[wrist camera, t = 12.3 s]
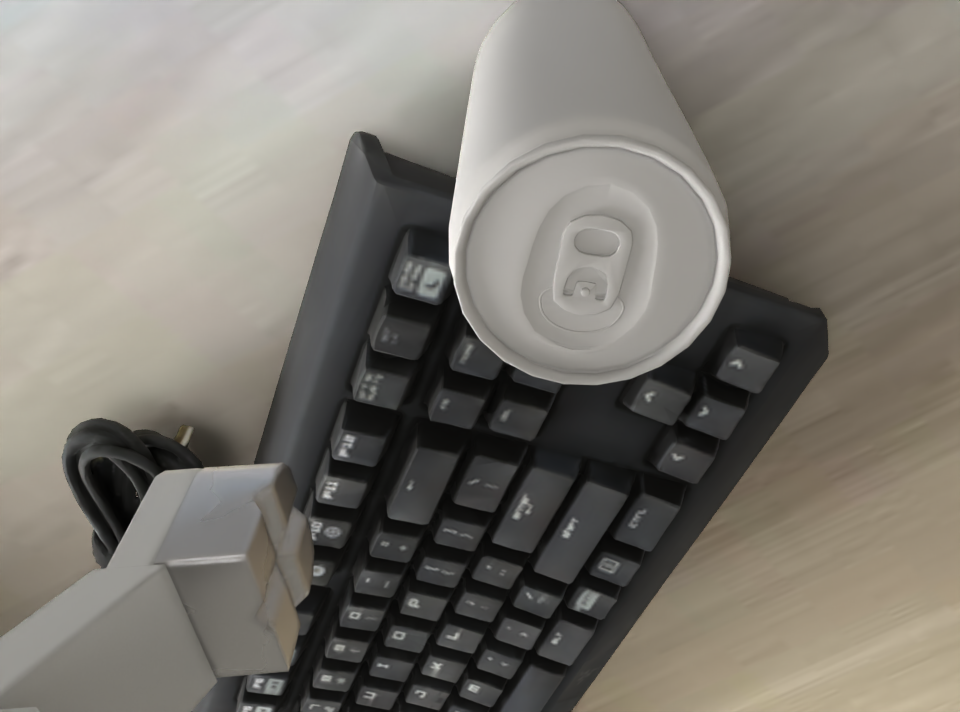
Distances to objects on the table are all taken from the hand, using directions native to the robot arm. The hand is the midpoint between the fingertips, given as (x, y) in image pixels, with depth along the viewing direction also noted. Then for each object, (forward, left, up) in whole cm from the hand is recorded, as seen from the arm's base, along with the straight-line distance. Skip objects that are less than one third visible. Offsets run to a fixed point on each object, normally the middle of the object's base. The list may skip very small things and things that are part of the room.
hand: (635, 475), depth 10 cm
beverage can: (0, 0, -17) cm, 17 cm away
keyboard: (+19, -10, -17) cm, 28 cm away
